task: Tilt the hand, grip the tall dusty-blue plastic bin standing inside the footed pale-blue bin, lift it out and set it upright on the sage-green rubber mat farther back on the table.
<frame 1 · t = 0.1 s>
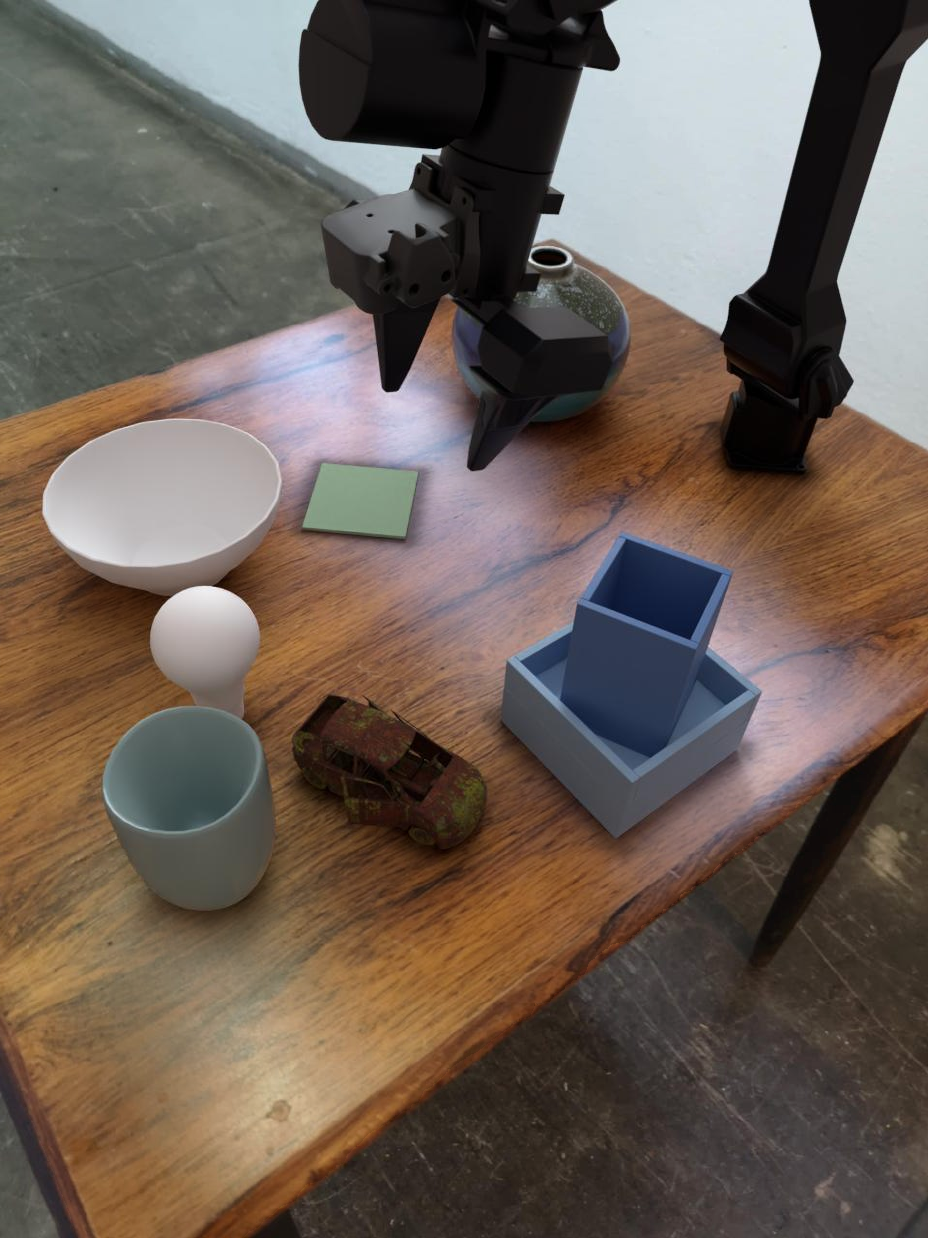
hand: (430, 428, 57), 15 cm above the table, tool pointing down, fingers open, 9 cm apart
toy car: (387, 794, 58), on the table
lightbulb: (226, 723, 61), on the table
cup: (214, 868, 54), on the table
upper bin: (626, 701, 59), point 3 cm above the table, touching lower bin
vase: (534, 398, 87), on the table
lower bin: (617, 734, 61), on the table
bowl: (182, 562, 71), on the table
mat: (362, 501, 76), on the table
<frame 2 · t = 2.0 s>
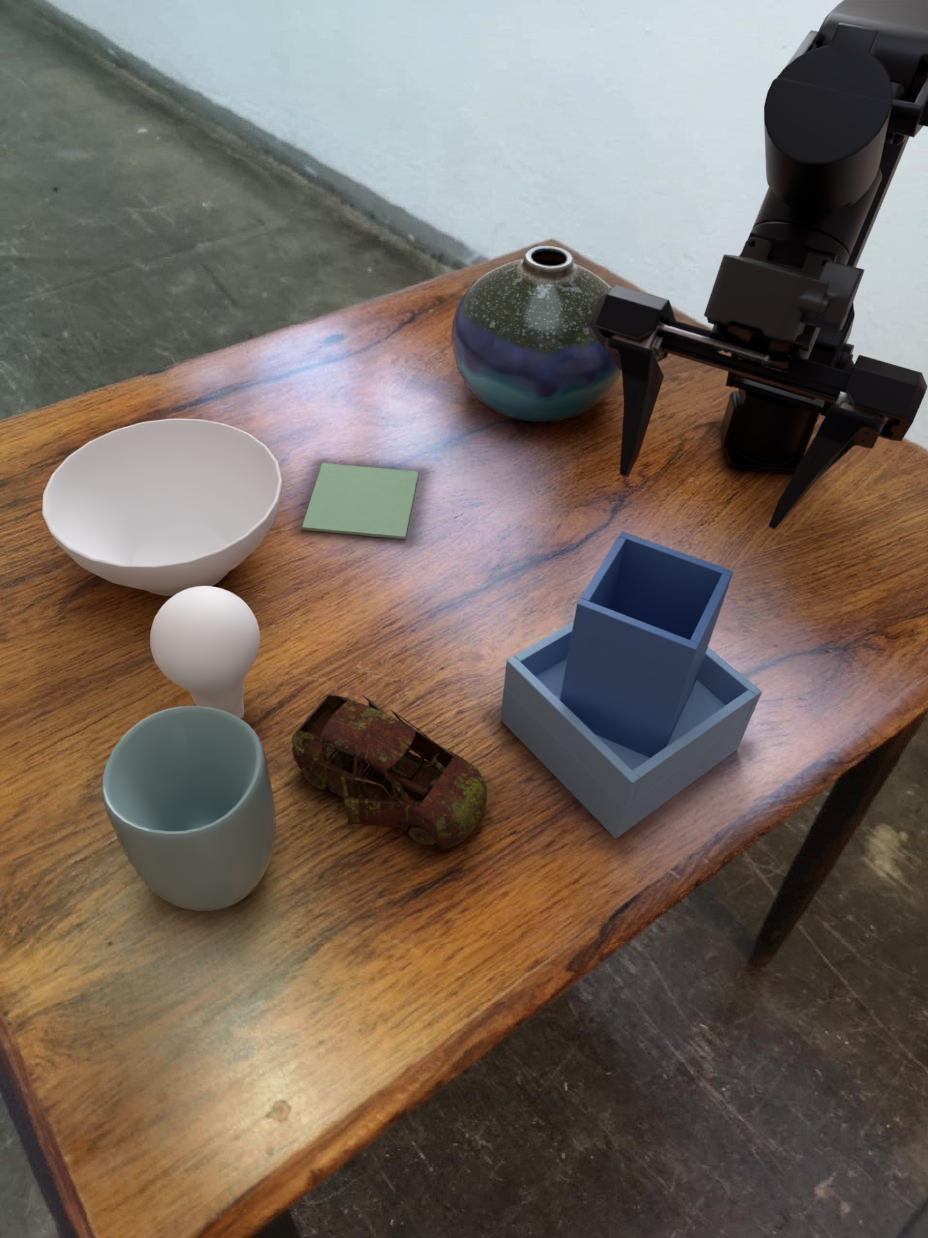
hand: (695, 501, 56), 13 cm above the table, tool tilted 45°, fingers open, 9 cm apart
nothing on the table moved.
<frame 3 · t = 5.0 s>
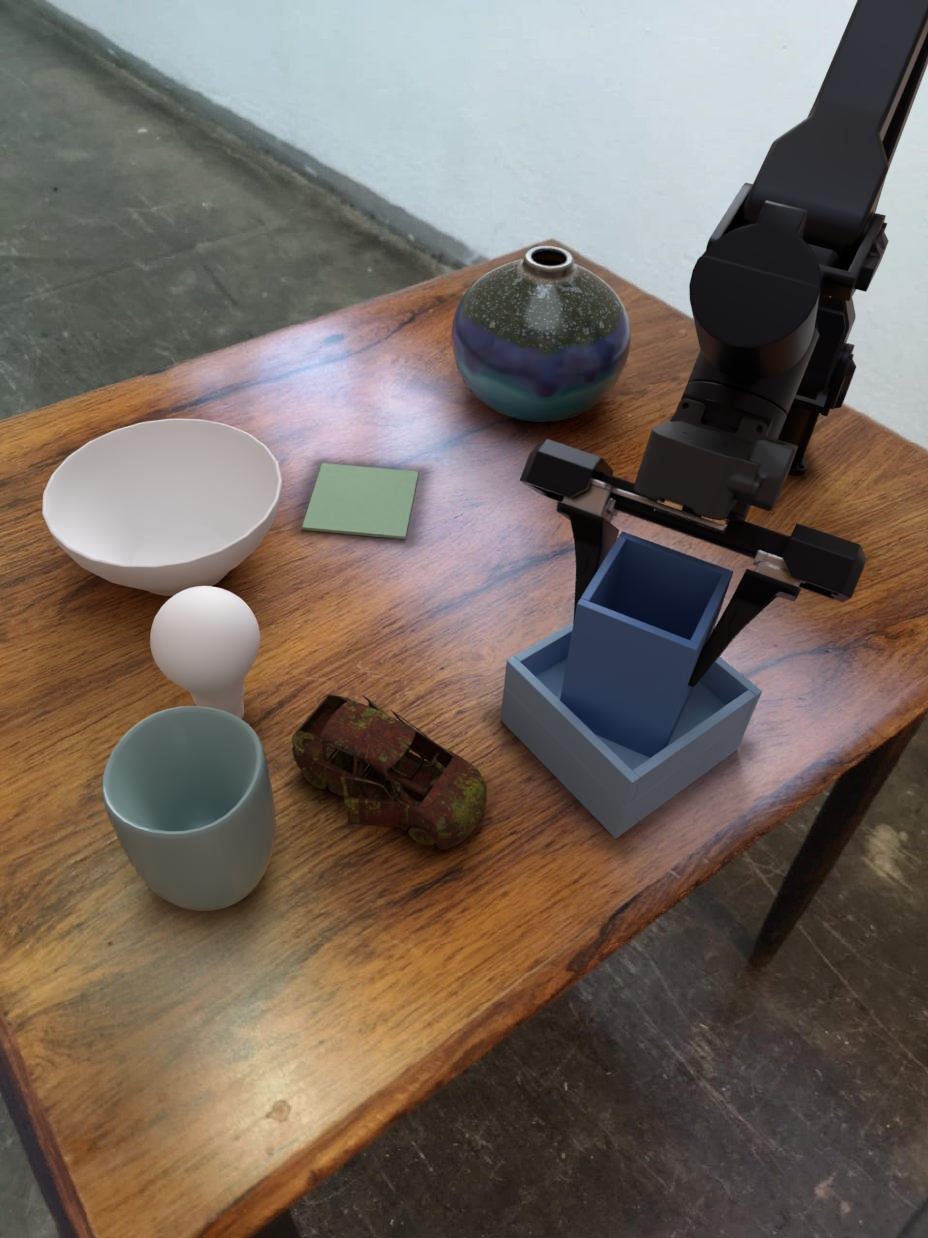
hand: (632, 662, 54), 9 cm above the table, tool tilted 45°, fingers closed on upper bin, 6 cm apart
upper bin: (626, 701, 59), point 4 cm above the table, touching gripper, lower bin
everything else where it was.
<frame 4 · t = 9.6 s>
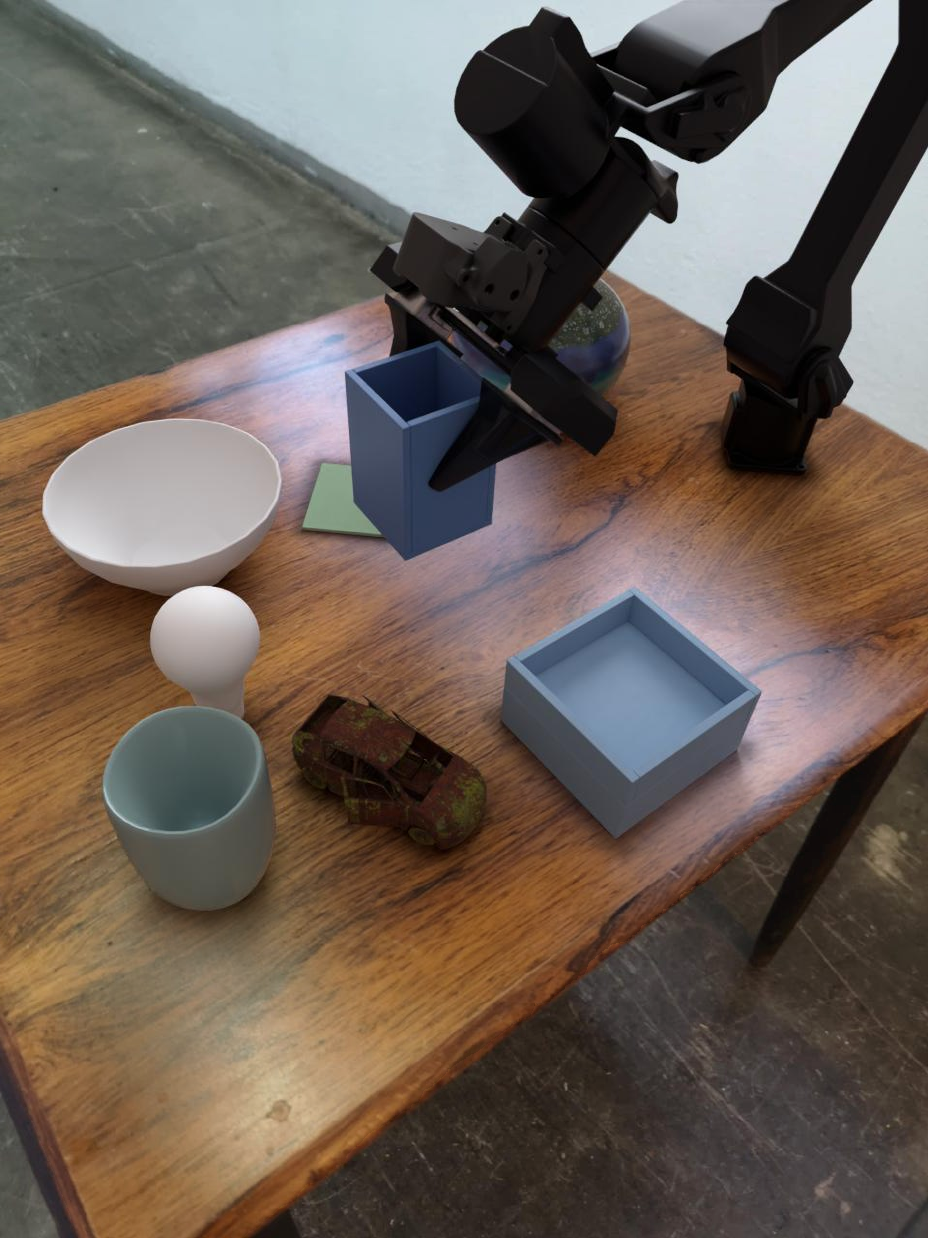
hand: (402, 457, 58), 13 cm above the table, tool tilted 45°, fingers closed on upper bin, 6 cm apart
upper bin: (422, 513, 63), point 8 cm above the table, touching gripper
everything else where it was.
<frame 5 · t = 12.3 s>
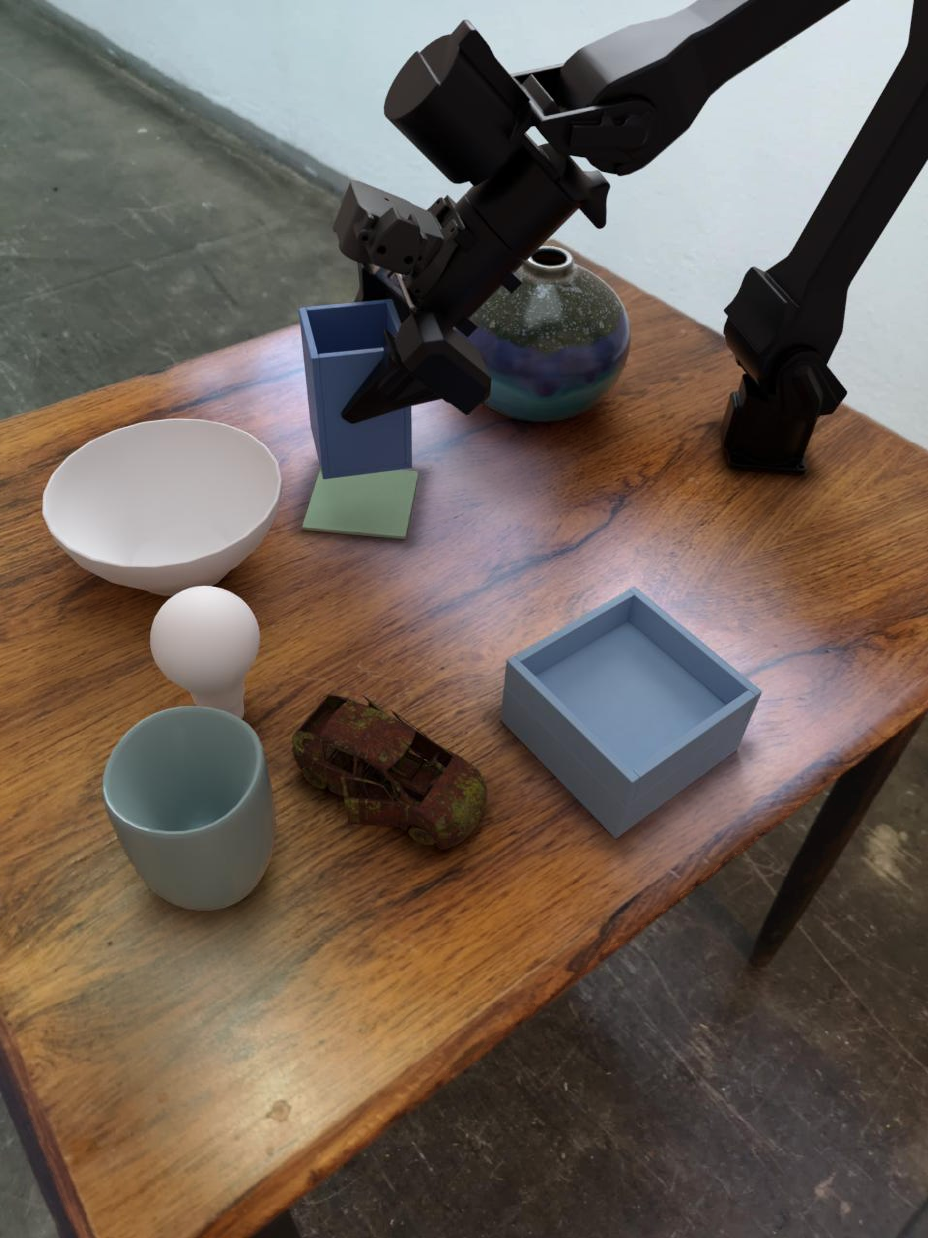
hand: (338, 391, 68), 10 cm above the table, tool tilted 45°, fingers closed on upper bin, 6 cm apart
upper bin: (360, 446, 72), point 5 cm above the table, touching gripper
everything else where it was.
when the fingers open (5 cm above the table, at t = 14.3 s): upper bin stays where it is, resting on mat.
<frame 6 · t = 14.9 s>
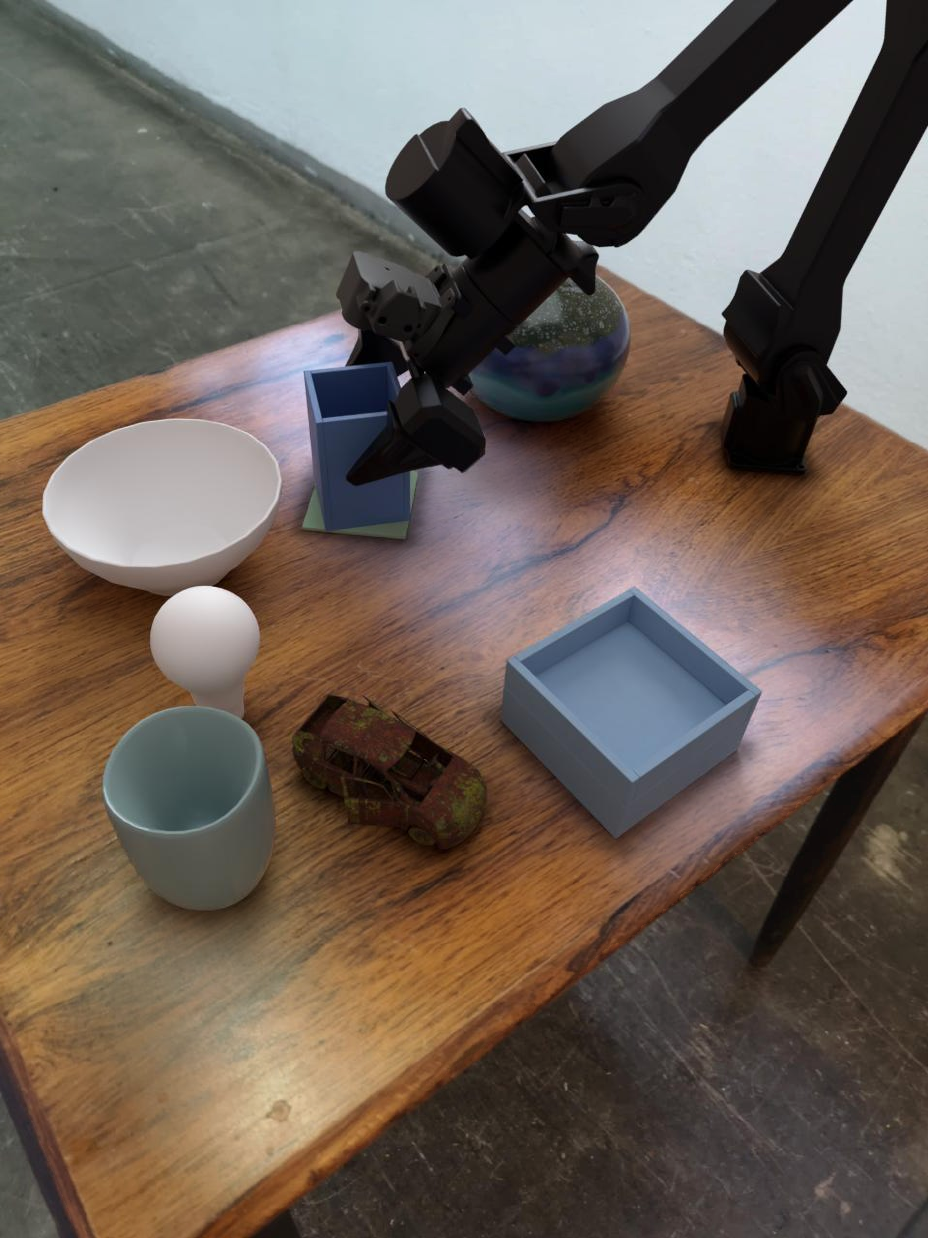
hand: (340, 443, 71), 6 cm above the table, tool tilted 45°, fingers open, 9 cm apart
upper bin: (361, 498, 76), resting on mat
everything else where it was.
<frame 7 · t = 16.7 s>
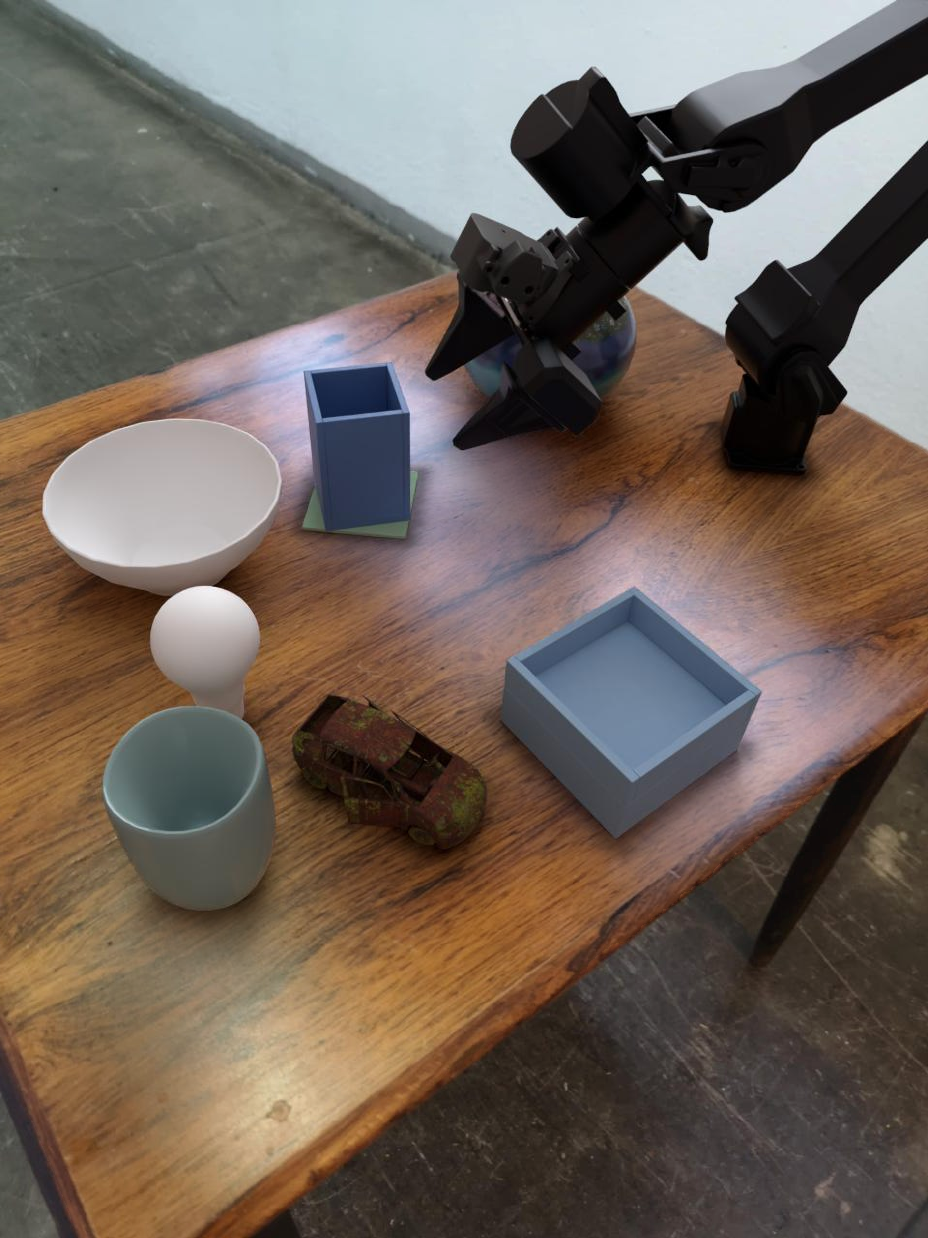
hand: (441, 410, 71), 8 cm above the table, tool tilted 45°, fingers open, 9 cm apart
vase: (535, 396, 87), on the table, touching gripper
everything else where it was.
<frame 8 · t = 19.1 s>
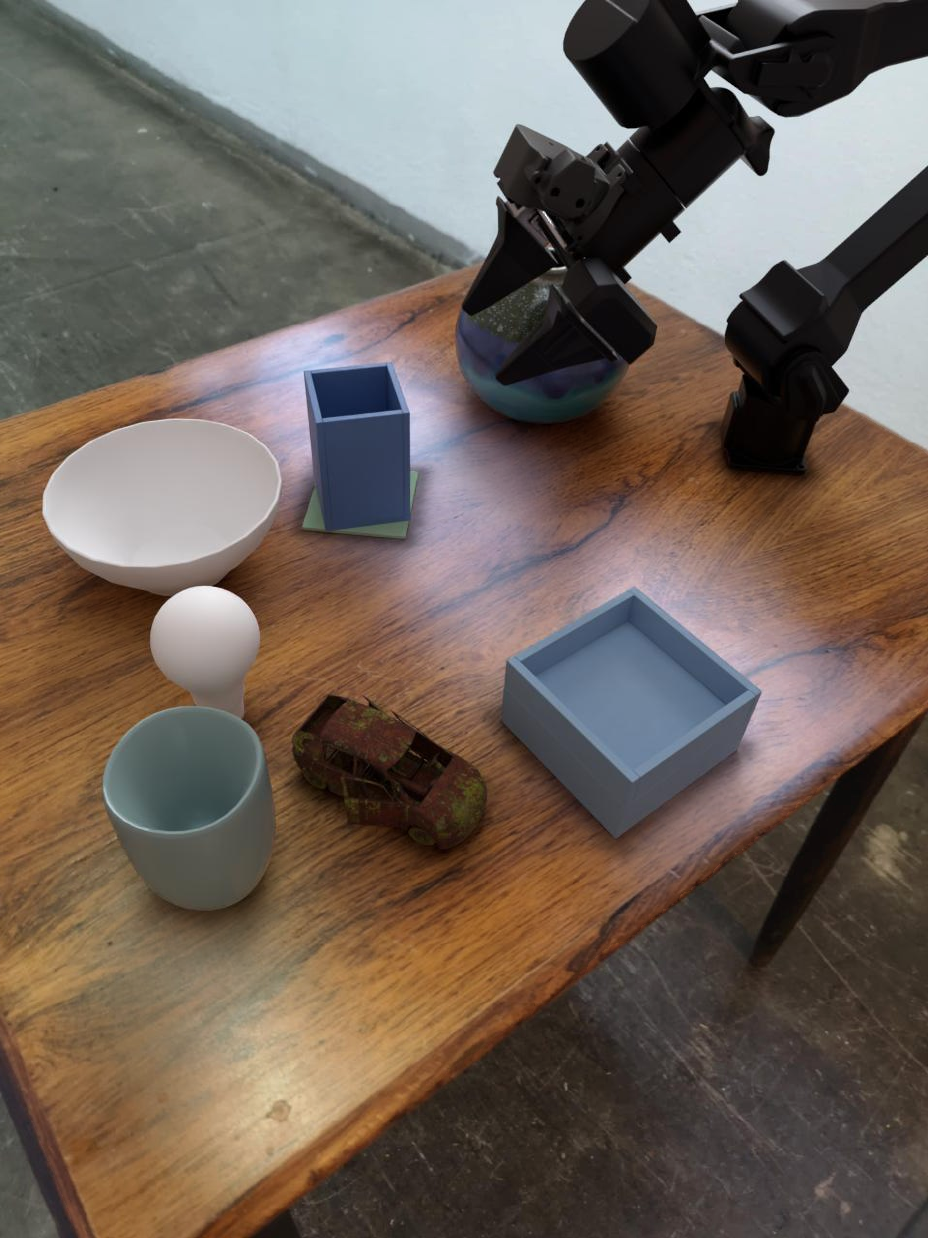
hand: (481, 344, 67), 14 cm above the table, tool tilted 45°, fingers open, 9 cm apart
vase: (537, 400, 87), on the table
everything else where it was.
at the end: upper bin 0.1 cm off-centre on the mat, point 0.3 cm above the mat's base; upper bin tilted 0°; the gripper is holding nothing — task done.
